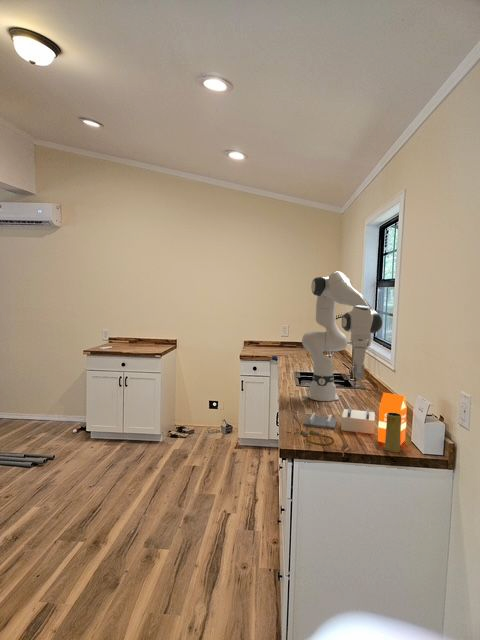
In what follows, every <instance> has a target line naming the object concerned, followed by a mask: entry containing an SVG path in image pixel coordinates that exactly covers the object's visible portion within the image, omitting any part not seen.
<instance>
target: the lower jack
mask: <svg viewBox="0 0 480 640" xmlns="http://www.w3.org/2000/svg"><path fill="white" fill-rule="evenodd" d="M337 423H338V417H337V418H336V417H333V415H332V414H329V415H328V417H327V416H318V415H317V416H316V412H314V411H313V412H312V414H311V415H307V416H306V419H305V421H304V422H303V426H305V427H311V428H314V427H315V428H322V429H330V430H335V429H336V427H337Z"/></svg>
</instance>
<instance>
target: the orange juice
mask: <svg viewBox="0 0 480 640" xmlns="http://www.w3.org/2000/svg"><path fill="white" fill-rule="evenodd" d="M407 409H408V407H407V404H406V397H405V395H402V394H401V395H400V394H393V393H389V392H383V394H382V397H381V401H380V404H379V410H378V412H379V413H378V429H377V430H378V431H377V432H378V433H377V434H378V436H377V441H378V442H379V443H384V444H385V437H386V425H387V413H389V412H394V413H399V414H401V445H403V444H404V443H405V442H406V433H407V432H406V430H407V411H408V410H407ZM404 441H405V442H404ZM403 442H404V443H403ZM402 443H403V444H402Z"/></svg>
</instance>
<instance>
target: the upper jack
mask: <svg viewBox="0 0 480 640" xmlns="http://www.w3.org/2000/svg"><path fill="white" fill-rule="evenodd" d="M375 413H376V412H375V411H370V407H366V410H358V409H352V405H349V406H348V408H344V409H343V412H342V415H341V424H340V425H341V427H340V428H341V431H347V432H354V433H362V434H370V435H375V424H376V422H375V421H376V420H375V419H376V417H375V416H376V414H375Z"/></svg>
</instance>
